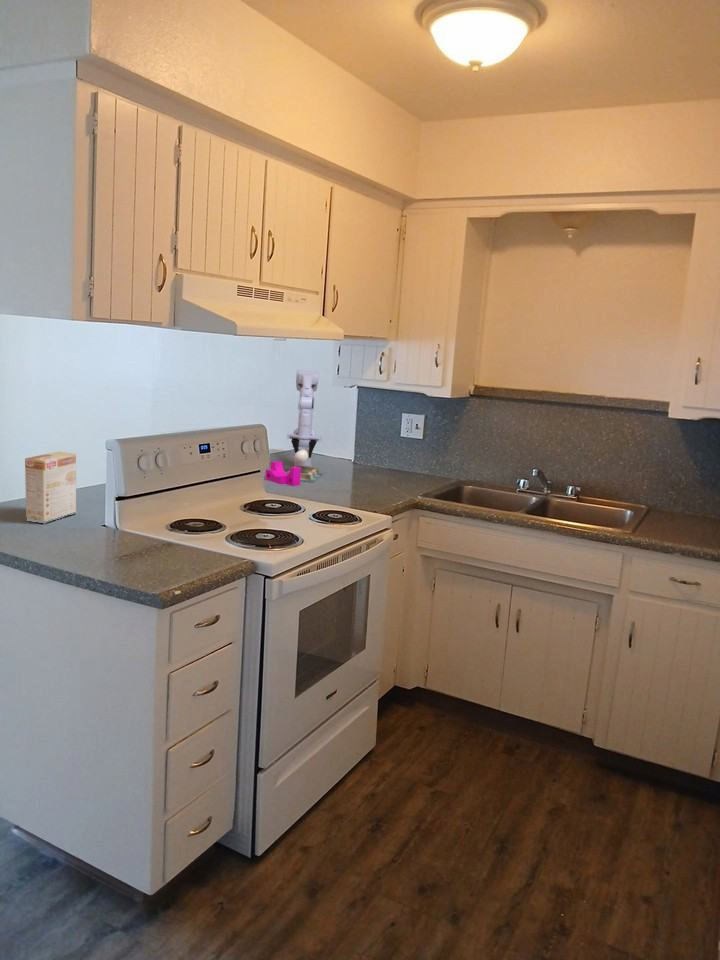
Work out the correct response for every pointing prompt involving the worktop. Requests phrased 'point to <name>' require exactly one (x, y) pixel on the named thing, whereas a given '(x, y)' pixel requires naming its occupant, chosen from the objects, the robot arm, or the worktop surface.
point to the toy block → (283, 474)
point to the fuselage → (302, 455)
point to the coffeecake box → (50, 485)
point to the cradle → (308, 473)
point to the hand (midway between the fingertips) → (303, 456)
